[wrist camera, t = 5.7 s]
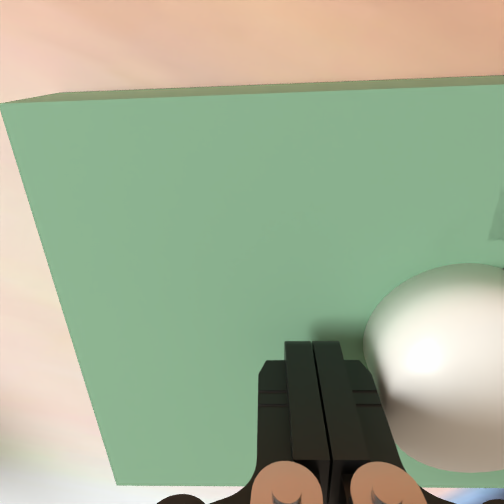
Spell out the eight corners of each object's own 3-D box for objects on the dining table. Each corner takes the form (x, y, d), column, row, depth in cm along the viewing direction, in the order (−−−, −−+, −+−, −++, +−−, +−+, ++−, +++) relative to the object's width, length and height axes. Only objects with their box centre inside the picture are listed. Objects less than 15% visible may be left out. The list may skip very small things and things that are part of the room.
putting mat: (139, 421, 18) (116, 485, 15) (60, 92, 12) (-2, 103, 9) (591, 420, 17) (652, 488, 14) (770, 64, 11) (940, 67, 8)
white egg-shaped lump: (368, 267, 10) (396, 323, 8) (561, 258, 10) (644, 315, 8) (358, 400, 13) (377, 474, 11) (516, 396, 12) (571, 471, 10)
